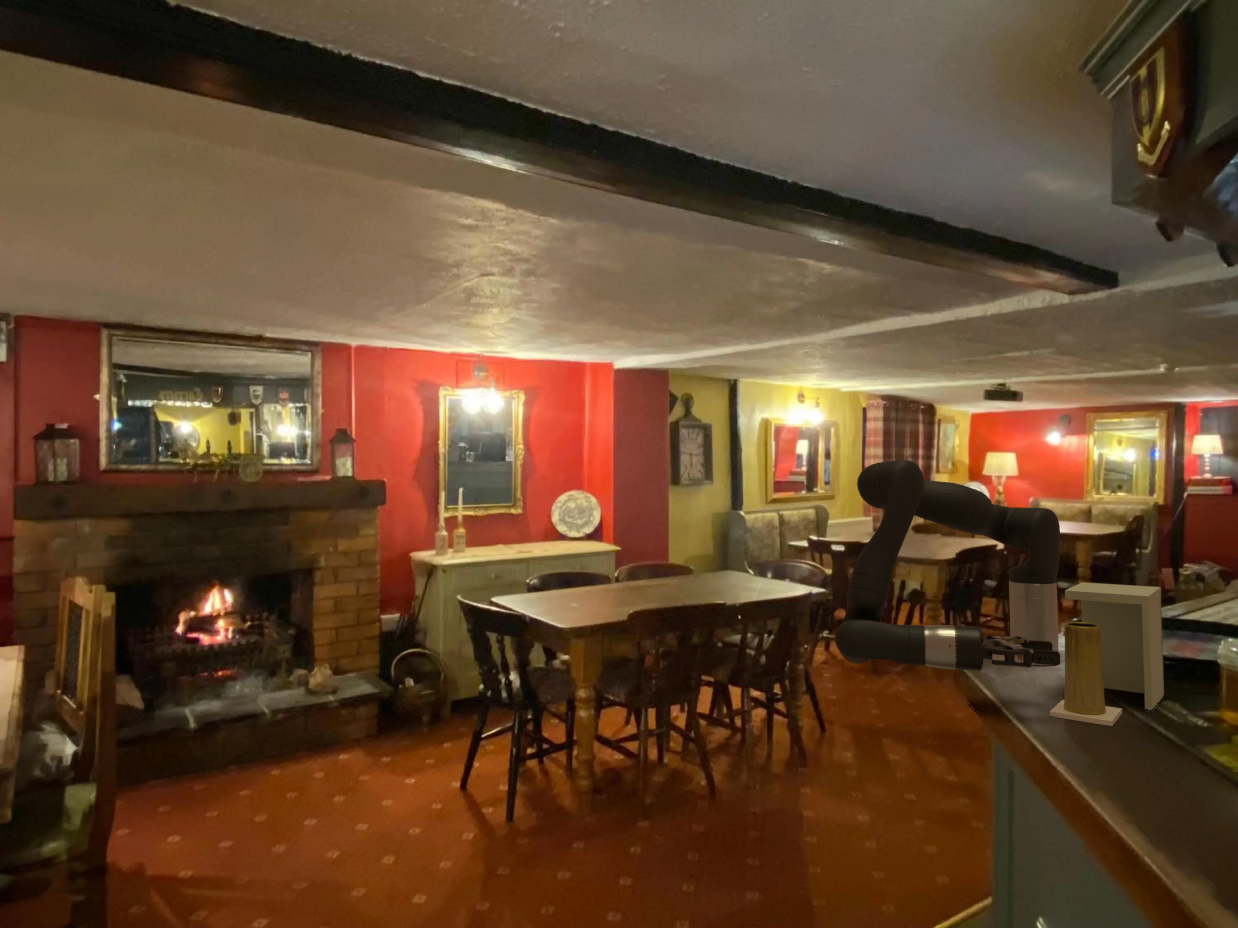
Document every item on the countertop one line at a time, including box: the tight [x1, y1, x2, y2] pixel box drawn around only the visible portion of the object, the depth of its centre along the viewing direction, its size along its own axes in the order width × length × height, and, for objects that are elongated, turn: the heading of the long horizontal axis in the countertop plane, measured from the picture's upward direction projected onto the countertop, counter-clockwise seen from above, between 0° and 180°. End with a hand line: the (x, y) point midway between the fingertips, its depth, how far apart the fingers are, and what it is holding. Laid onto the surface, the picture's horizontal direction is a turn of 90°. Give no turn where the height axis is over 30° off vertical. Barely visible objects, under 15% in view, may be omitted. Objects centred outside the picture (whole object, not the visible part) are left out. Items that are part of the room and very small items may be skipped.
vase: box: [1063, 621, 1106, 715], centre depth 136 cm, size 6×6×14 cm
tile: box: [1049, 699, 1123, 727], centre depth 135 cm, size 9×9×1 cm
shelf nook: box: [1064, 581, 1165, 710], centre depth 146 cm, size 14×13×20 cm
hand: (1055, 652), depth 137 cm, fingers open, 8 cm apart
